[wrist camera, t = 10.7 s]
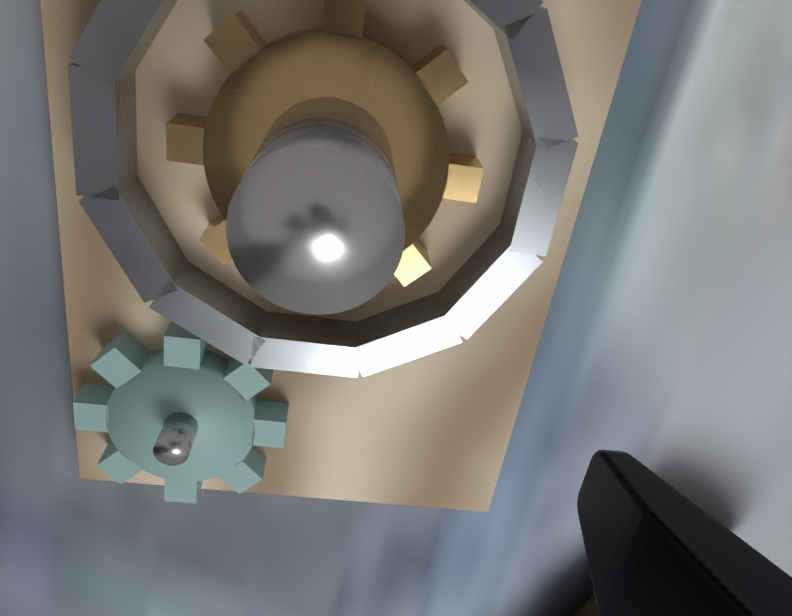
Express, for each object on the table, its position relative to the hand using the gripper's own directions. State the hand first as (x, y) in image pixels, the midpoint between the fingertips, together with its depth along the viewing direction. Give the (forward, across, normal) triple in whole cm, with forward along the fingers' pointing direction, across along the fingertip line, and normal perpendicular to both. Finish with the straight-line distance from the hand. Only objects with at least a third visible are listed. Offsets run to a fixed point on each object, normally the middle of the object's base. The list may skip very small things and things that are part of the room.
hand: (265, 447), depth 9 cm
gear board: (+11, 0, +1) cm, 11 cm away
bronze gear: (+10, 0, -1) cm, 10 cm away
